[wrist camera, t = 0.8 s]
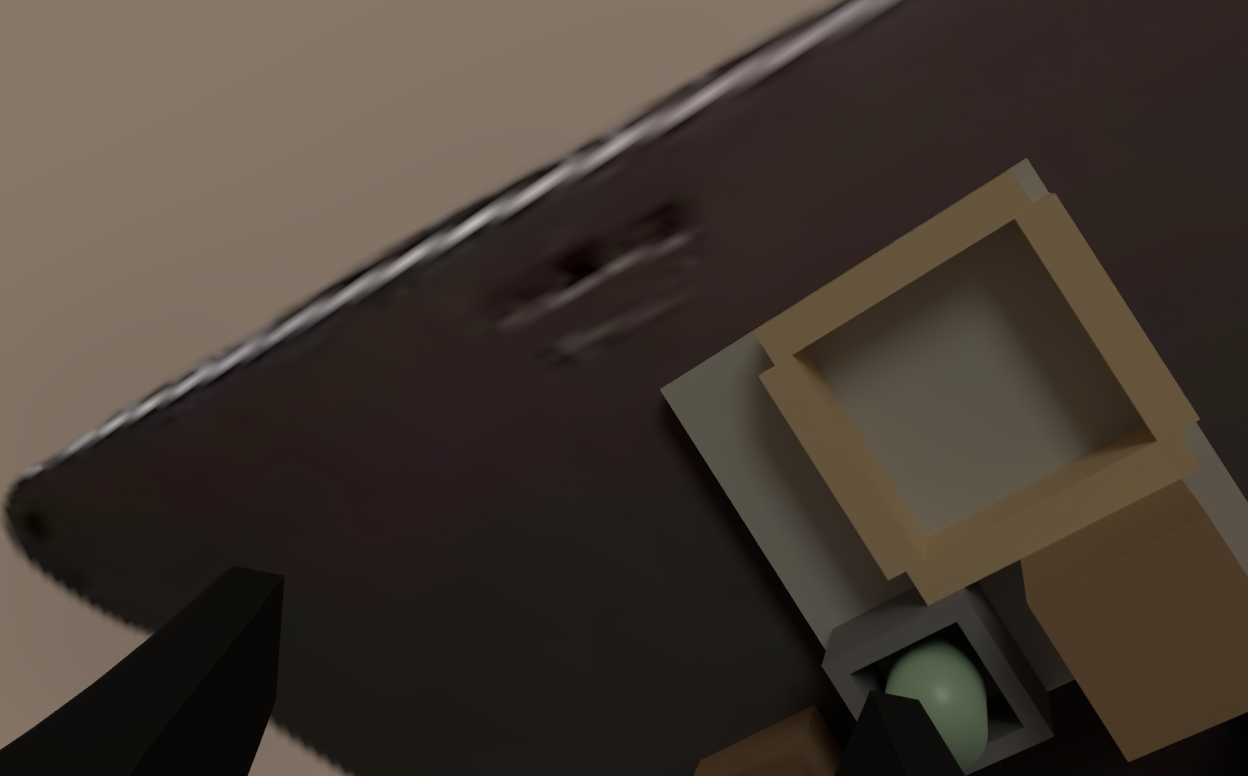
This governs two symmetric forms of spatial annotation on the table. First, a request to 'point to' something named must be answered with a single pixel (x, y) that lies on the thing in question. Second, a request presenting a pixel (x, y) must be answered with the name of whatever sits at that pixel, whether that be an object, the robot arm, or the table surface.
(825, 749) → the walnut billet
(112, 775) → the robot arm
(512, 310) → the table surface
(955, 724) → the button
